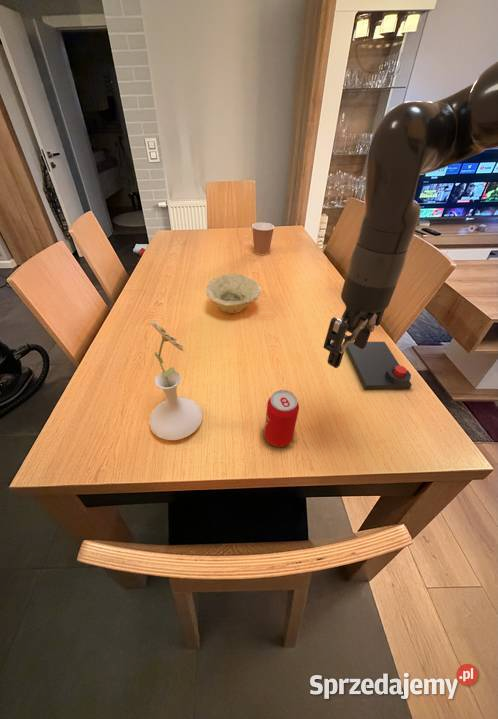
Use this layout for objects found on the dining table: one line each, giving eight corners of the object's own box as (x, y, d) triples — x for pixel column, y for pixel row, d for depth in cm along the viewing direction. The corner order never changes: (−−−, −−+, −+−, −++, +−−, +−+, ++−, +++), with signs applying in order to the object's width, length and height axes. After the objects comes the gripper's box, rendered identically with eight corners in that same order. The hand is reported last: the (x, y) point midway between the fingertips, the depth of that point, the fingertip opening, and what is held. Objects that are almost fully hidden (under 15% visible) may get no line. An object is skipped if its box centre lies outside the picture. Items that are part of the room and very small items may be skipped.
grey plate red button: (410, 390, 77) (415, 380, 75) (365, 391, 77) (369, 381, 74) (382, 345, 91) (386, 336, 89) (344, 346, 90) (347, 336, 88)
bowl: (243, 308, 113) (272, 295, 103) (212, 326, 101) (240, 313, 90) (226, 274, 110) (253, 257, 100) (192, 288, 98) (218, 270, 88)
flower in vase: (208, 435, 65) (199, 345, 49) (154, 451, 62) (125, 360, 45) (194, 393, 74) (183, 305, 58) (147, 405, 71) (120, 315, 54)
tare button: (406, 377, 76) (408, 372, 75) (395, 378, 76) (398, 373, 75) (401, 370, 78) (403, 365, 77) (391, 370, 78) (393, 365, 77)
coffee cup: (264, 246, 149) (265, 221, 141) (276, 253, 143) (279, 227, 135) (246, 250, 145) (247, 224, 137) (258, 257, 138) (260, 231, 130)
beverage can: (285, 421, 68) (292, 385, 61) (297, 444, 64) (305, 408, 56) (260, 428, 67) (263, 391, 59) (270, 451, 62) (275, 415, 55)
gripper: (369, 298, 40) (341, 383, 50) (417, 270, 47) (384, 349, 58) (324, 278, 44) (306, 361, 55) (374, 255, 51) (350, 332, 62)
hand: (346, 355), depth 56 cm, fingers open, 8 cm apart
